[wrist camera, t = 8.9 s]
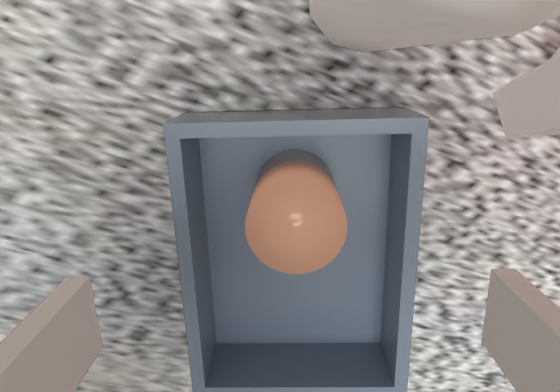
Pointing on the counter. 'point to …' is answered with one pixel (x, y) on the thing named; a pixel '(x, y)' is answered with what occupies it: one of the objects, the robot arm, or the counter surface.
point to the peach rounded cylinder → (295, 214)
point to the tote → (298, 287)
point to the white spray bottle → (452, 28)
